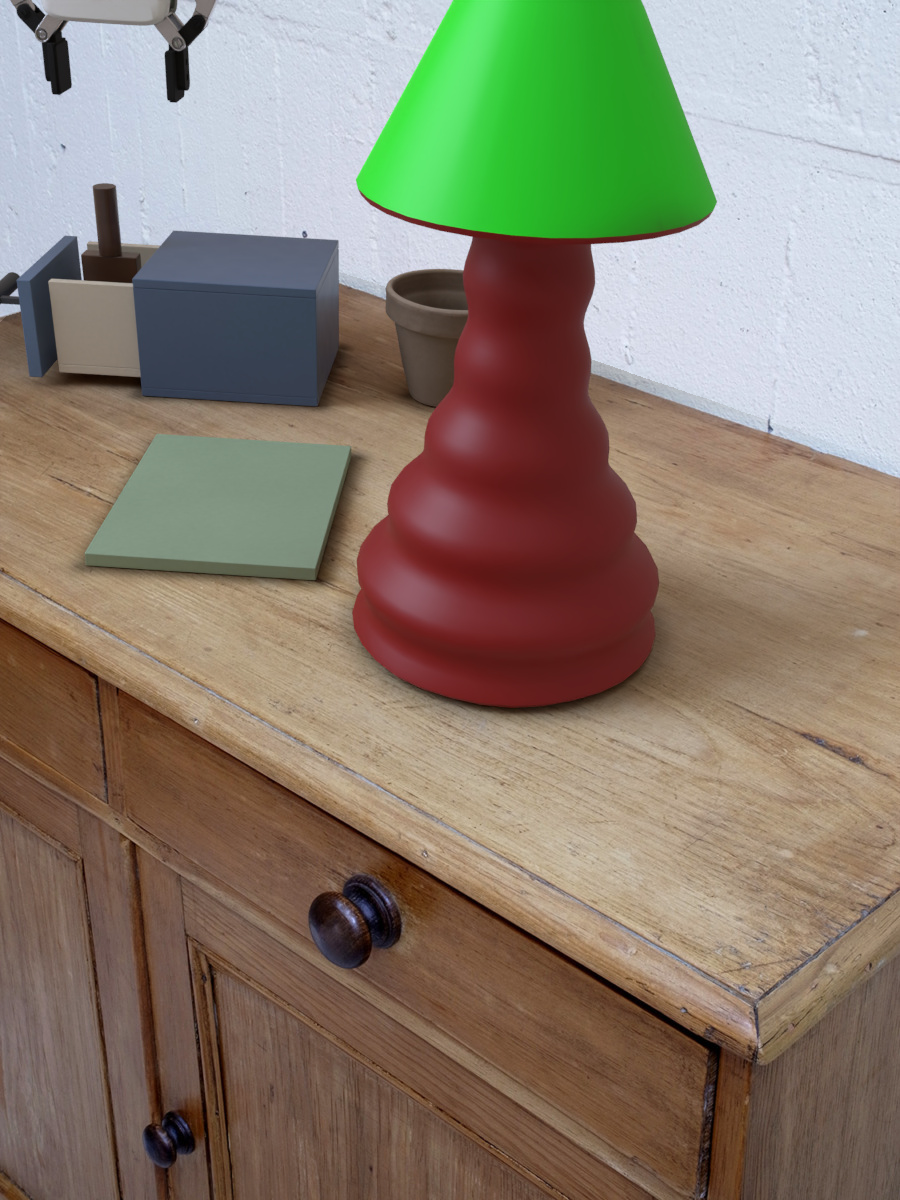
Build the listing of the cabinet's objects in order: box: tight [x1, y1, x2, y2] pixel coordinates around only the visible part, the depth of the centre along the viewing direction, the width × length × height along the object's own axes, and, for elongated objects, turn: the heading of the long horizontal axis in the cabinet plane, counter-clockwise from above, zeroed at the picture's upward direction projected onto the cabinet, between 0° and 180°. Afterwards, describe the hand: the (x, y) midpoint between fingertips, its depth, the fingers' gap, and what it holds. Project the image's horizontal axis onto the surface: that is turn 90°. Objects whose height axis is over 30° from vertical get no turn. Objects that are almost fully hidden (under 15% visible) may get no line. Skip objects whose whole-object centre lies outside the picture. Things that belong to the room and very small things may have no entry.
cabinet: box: [132, 230, 340, 407], centre depth 119 cm, size 16×15×11 cm
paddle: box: [80, 182, 141, 283], centre depth 119 cm, size 5×2×14 cm, turn 87°
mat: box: [84, 433, 352, 581], centre depth 99 cm, size 16×20×1 cm
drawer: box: [0, 235, 162, 378], centre depth 120 cm, size 19×13×9 cm
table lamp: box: [351, 0, 718, 709], centre depth 75 cm, size 20×20×45 cm
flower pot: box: [385, 268, 468, 408], centre depth 116 cm, size 12×11×10 cm
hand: (119, 95), depth 110 cm, fingers open, 9 cm apart
